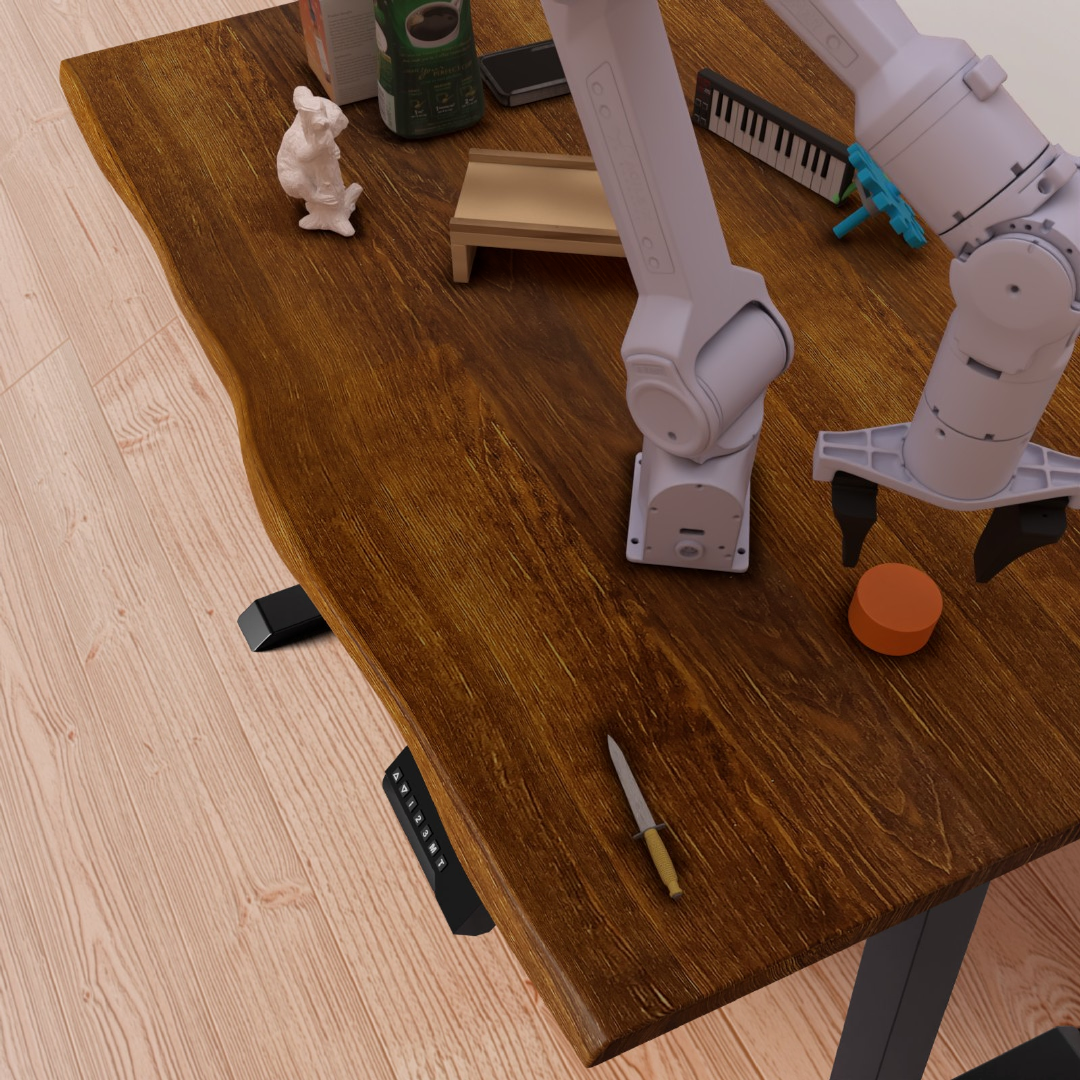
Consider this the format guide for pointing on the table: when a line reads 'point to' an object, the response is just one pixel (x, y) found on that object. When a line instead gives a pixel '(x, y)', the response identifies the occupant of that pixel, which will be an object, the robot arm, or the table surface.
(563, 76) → the phone
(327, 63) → the small box
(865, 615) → the disc
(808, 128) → the midi keyboard
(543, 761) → the table surface
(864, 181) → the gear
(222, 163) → the table surface
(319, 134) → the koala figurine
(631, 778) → the dagger
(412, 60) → the coffee jar
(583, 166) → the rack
